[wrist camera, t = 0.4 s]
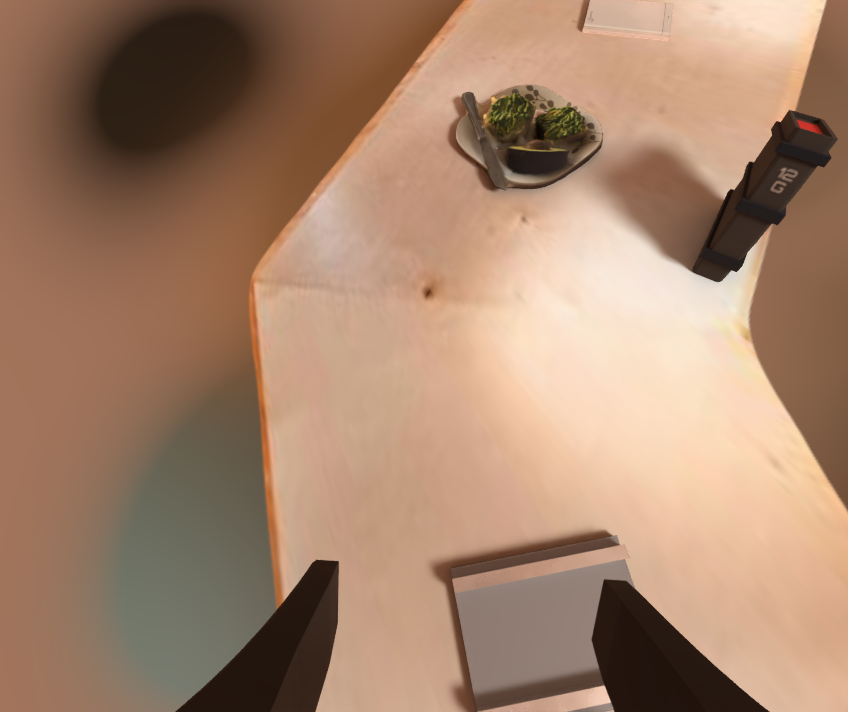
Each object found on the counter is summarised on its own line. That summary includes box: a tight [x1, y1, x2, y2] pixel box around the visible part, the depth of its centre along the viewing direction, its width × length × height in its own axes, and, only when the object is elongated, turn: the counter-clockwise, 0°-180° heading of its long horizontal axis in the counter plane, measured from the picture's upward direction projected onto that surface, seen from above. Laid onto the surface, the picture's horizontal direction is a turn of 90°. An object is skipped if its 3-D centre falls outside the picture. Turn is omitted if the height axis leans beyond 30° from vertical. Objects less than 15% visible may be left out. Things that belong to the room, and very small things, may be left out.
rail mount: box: [450, 535, 635, 712], centre depth 34 cm, size 11×14×2 cm
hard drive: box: [582, 0, 673, 41], centre depth 68 cm, size 2×8×12 cm
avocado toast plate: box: [456, 85, 603, 190], centre depth 57 cm, size 19×18×5 cm
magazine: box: [693, 110, 838, 282], centre depth 44 cm, size 4×13×15 cm, turn 147°
